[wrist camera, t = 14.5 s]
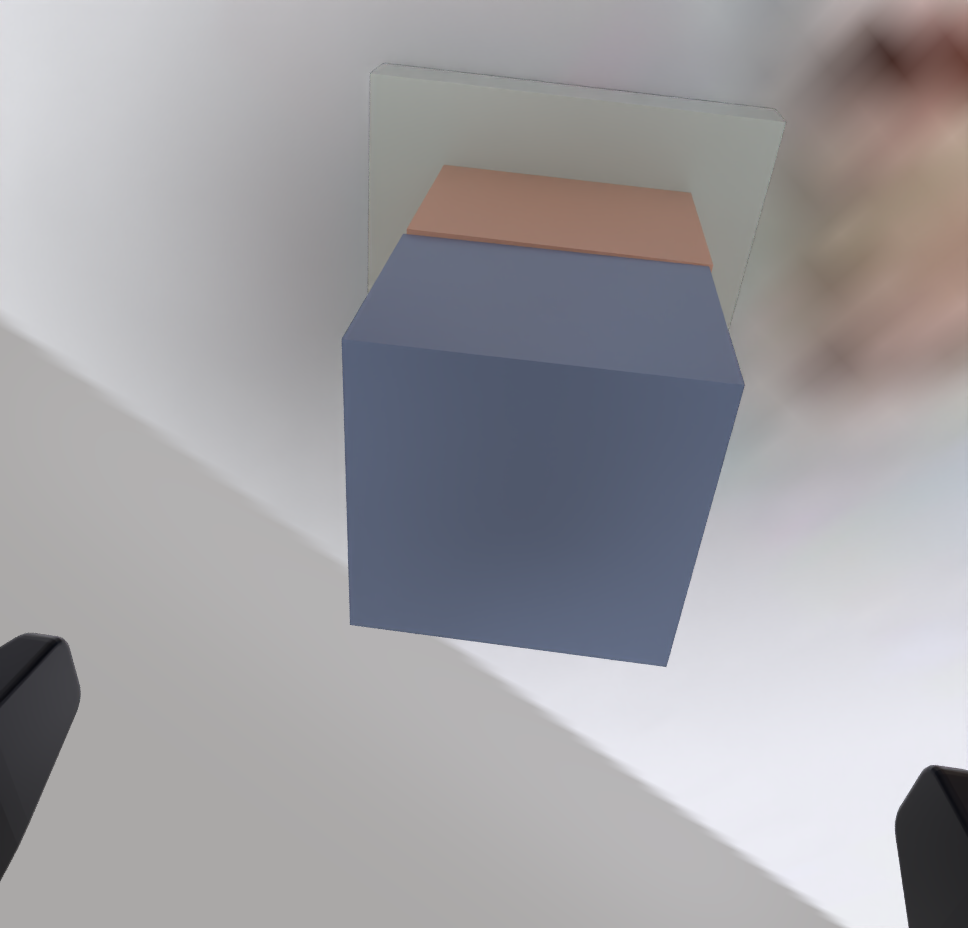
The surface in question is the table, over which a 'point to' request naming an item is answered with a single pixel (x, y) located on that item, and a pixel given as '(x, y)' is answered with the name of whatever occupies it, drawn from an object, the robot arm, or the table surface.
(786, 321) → the table surface
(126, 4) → the table surface
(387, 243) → the grey baseplate
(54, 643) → the robot arm
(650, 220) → the terracotta brick
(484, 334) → the navy brick
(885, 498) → the table surface
